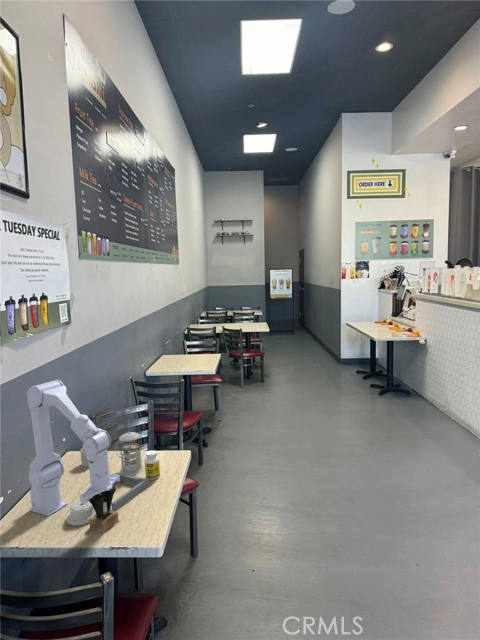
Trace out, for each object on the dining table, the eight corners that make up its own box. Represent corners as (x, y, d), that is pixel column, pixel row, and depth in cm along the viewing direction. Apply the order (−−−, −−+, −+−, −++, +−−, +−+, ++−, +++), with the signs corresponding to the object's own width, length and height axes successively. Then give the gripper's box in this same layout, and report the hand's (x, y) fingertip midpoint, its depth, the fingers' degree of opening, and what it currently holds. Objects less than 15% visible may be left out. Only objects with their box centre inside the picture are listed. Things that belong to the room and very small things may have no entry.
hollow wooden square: (89, 527, 122) (89, 518, 122) (104, 517, 128) (103, 508, 128) (104, 532, 120) (103, 522, 120) (118, 521, 125) (117, 512, 125)
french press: (136, 476, 154) (130, 414, 152) (110, 473, 158) (105, 412, 156) (149, 465, 164) (144, 406, 161) (125, 463, 167) (120, 405, 165)
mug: (92, 467, 165) (91, 452, 164) (78, 466, 166) (77, 451, 166) (105, 457, 174) (104, 442, 174) (92, 456, 176) (91, 441, 175)
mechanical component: (59, 525, 125) (88, 527, 123) (58, 512, 125) (87, 514, 123) (78, 507, 135) (105, 509, 133) (77, 495, 134) (104, 497, 132)
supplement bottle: (146, 481, 150) (144, 456, 149) (145, 475, 155) (143, 451, 154) (160, 478, 151) (158, 454, 151) (159, 472, 157) (157, 448, 156)
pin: (98, 519, 123) (96, 502, 123) (104, 515, 125) (102, 498, 125) (104, 521, 122) (102, 504, 121) (109, 517, 124) (108, 500, 124)
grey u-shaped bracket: (80, 502, 138) (80, 495, 137) (116, 479, 153) (115, 472, 153) (114, 511, 131) (113, 503, 131) (148, 485, 147) (147, 479, 146)
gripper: (91, 484, 114) (95, 529, 115) (125, 463, 127) (129, 503, 128) (73, 480, 117) (77, 524, 118) (109, 460, 130) (112, 499, 131)
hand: (103, 513), depth 123 cm, fingers closed on pin, 2 cm apart
